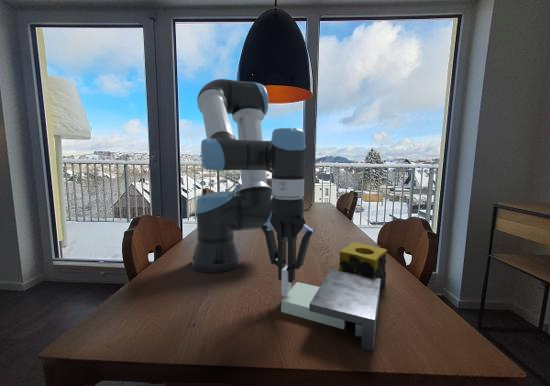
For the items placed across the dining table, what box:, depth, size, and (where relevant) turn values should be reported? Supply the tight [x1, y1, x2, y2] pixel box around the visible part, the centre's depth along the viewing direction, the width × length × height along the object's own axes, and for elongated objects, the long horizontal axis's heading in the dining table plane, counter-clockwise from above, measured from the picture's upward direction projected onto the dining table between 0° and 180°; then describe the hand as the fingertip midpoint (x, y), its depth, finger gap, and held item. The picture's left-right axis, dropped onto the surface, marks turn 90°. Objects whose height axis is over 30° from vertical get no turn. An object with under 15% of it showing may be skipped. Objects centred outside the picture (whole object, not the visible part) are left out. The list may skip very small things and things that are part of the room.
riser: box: [309, 269, 381, 352], centre depth 57 cm, size 12×18×6 cm, turn 155°
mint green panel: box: [280, 281, 348, 330], centre depth 60 cm, size 14×10×3 cm
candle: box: [338, 241, 388, 289], centre depth 72 cm, size 10×10×10 cm
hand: (286, 293), depth 63 cm, fingers closed
